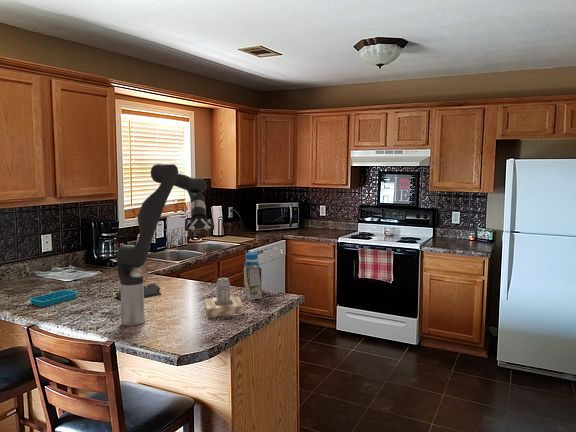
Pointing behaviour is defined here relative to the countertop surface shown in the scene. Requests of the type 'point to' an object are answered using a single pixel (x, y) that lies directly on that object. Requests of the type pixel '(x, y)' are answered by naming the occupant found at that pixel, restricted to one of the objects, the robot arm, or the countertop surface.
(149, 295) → the dark slate chunk
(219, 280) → the energy drink can
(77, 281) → the countertop surface
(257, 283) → the coffee box
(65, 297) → the ice cube tray
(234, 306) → the socket board
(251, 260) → the beverage bottle
